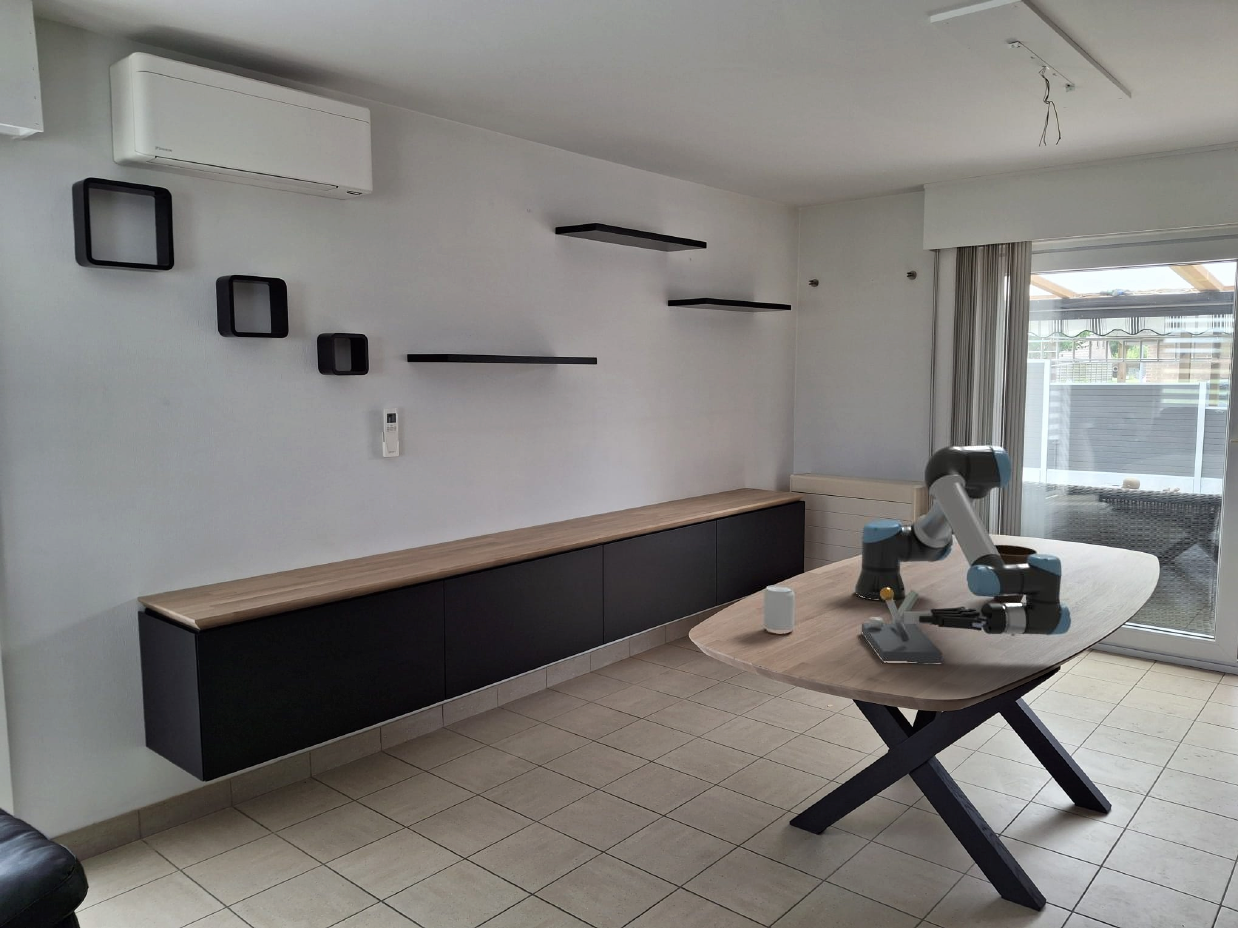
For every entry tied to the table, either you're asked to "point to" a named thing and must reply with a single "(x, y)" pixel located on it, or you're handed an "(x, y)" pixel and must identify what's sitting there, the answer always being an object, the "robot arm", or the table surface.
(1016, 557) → the plant pot
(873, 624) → the white push button
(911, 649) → the switch panel
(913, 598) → the sage paddle
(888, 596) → the steel toggle lever
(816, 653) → the table surface
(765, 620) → the beverage can
